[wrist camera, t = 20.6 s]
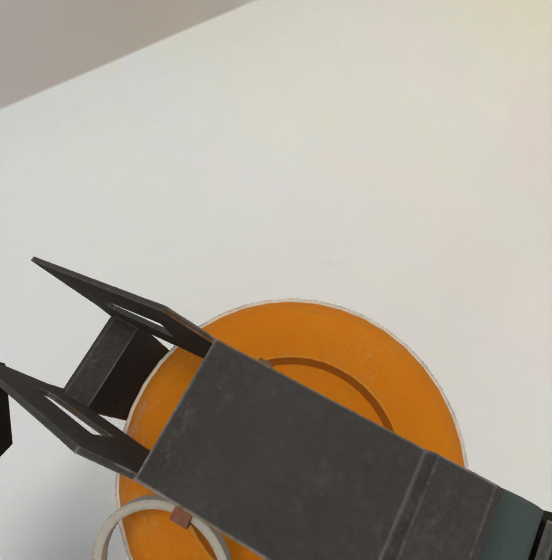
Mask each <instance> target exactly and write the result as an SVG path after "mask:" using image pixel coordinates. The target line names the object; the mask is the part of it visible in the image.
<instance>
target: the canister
mask: <svg viewBox="0 0 552 560" xmlns="http://www.w3.org/2000/svg"><path fill="white" fill-rule="evenodd" d="M31 261H33V262H34V263H36V264H37V265H38V266H40V267H41V268H43V269H44V270H46V271H47V272H49V273H50V274H52V275H53V276H55V277H56V278H58V279H59V280H60V281H62V282H63V283H65V284H66V285H68V286H69V287H71V288H72V289H74V290H75V291H77V292H78V293H80V294H81V295H83V296H84V297H85V298H87V299H88V300H90V301H91V302H93V303H94V304H96V305H97V306H99V307H100V308H101V309H103V310H104V311H105V312H106V313H108V314H109V315H110V316H111V317H110V319H109V320H108V322H107V323H106V325H105V326H104V328H103V329H102V331H101V333H100V334H99V336H98V337H97V339H96V340H95V342H94V343H93V345H92V346H91V348H90V349H89V351H88V352H87V354H86V355H85V357H84V358H83V360H82V361H81V363H80V364H79V366H78V367H77V369H76V371H75V372H74V374H73V375H72V377H71V378H70V380H69V381H68V383H67V384H66V386H65V387H64V389H63V388H60V387H57V386H53V385H50V384H47V383H45V382H42V381H40V380H38V379H35V378H33V377H31V376H28V375H26V374H23V373H21V372H19V371H16V370H14V369H11V368H9V367H7V366H4V365H2V364H0V387H1V388H2V389H3V390H4V391H5V392H6V393H8V394H9V395H10V396H11V397H12V398H13V399H14V400H16V401H17V402H18V403H19V404H20V405H21V406H22V407H23V408H25V409H26V410H27V411H28V412H29V413H30V414H31V415H33V416H34V417H35V418H36V419H37V420H38V421H39V422H41V423H42V424H43V425H44V426H45V427H46V428H47V429H49V430H50V431H51V432H52V433H53V434H54V435H55V436H56V437H58V438H59V439H60V440H61V441H62V442H63V443H64V444H65V445H66V446H68V447H69V448H70V449H71V450H72V451H73V452H74V453H76V454H78V455H80V456H83V457H85V458H87V459H89V460H91V461H93V462H96V463H98V464H100V465H102V466H104V467H106V468H109V469H111V470H113V471H115V472H116V487H115V495H116V505H117V511H116V512H114V513H113V514H112V515H111V516H110V517H109V518H108V519H107V520H106V522H105V523H104V524H103V526H102V528H101V529H100V531H99V533H98V535H97V538H96V541H95V545H94V550H93V560H107V550H108V544H109V540H110V537H111V534H112V532H113V530H114V529H115V527H116V525H117V524H118V523H119V527H120V531H121V535H122V539H123V543H124V546H125V550H126V554H127V556H128V558H129V560H548V559H549V556H550V553H551V550H552V522H551V521H549V520H542V519H541V518H542V515H543V512H544V511H543V510H542V509H541V508H539V507H538V506H536V505H535V504H533V503H531V502H529V501H528V500H526V499H524V498H522V497H520V496H518V495H516V494H514V493H512V492H510V491H507V490H505V489H503V488H501V487H499V486H498V485H497V484H495V483H493V482H491V481H489V480H487V479H485V478H483V477H481V476H480V475H478V474H476V473H474V472H472V471H470V470H469V469H468V463H467V457H466V452H465V446H464V441H463V438H462V435H461V432H460V429H459V426H458V423H457V420H456V417H455V414H454V411H453V409H452V407H451V405H450V403H449V401H448V399H447V397H446V395H445V393H444V391H443V389H442V387H441V386H440V385H439V383H438V382H437V380H436V379H435V377H434V376H433V375H432V373H431V372H430V370H429V369H428V367H427V366H426V365H425V364H424V362H423V361H422V360H421V359H420V358H419V357H418V356H417V355H416V354H415V353H414V352H413V351H412V350H411V349H410V347H409V346H408V345H407V344H405V343H404V342H403V341H402V340H400V339H399V338H398V337H397V336H395V335H394V334H393V333H392V332H390V331H389V330H388V329H386V328H385V327H383V326H381V325H380V324H378V323H376V322H374V321H373V320H371V319H369V318H368V317H366V316H364V315H361V314H359V313H356V312H354V311H352V310H349V309H347V308H344V307H342V306H338V305H334V304H329V303H325V302H321V301H317V300H305V299H293V298H291V299H276V300H265V301H261V302H256V303H252V304H247V305H243V306H240V307H238V308H235V309H232V310H230V311H227V312H224V313H222V314H219V315H218V316H216V317H214V318H212V319H211V320H209V321H207V322H205V323H203V324H202V325H200V326H196V325H195V324H193V323H192V322H190V321H188V320H187V319H185V318H184V317H182V316H181V315H179V314H178V313H176V312H174V311H173V310H171V309H170V308H168V307H167V306H164V305H162V304H159V303H156V302H153V301H151V300H148V299H145V298H143V297H140V296H137V295H135V294H132V293H129V292H127V291H124V290H121V289H119V288H116V287H113V286H111V285H108V284H105V283H103V282H100V281H97V280H95V279H92V278H89V277H87V276H84V275H82V274H79V273H76V272H74V271H71V270H68V269H66V268H63V267H60V266H58V265H55V264H52V263H50V262H47V261H44V260H42V259H39V258H36V257H33V258H32V260H31ZM113 304H114V305H113ZM115 305H117V306H119V307H117V306H115ZM120 307H122V308H124V309H126V310H129V311H131V312H134V313H136V314H139V315H141V316H143V317H146V318H148V319H151V320H153V321H156V322H158V323H160V324H162V325H163V326H164V327H165V328H164V327H161V326H159V325H157V324H155V323H153V322H150V321H148V320H146V319H144V318H142V317H139V316H137V315H135V314H133V313H131V312H128V311H126V310H124V309H122V308H120ZM151 334H152V335H151ZM153 335H154V336H156V337H158V338H161V339H163V340H165V341H167V342H169V343H171V344H173V345H175V346H174V347H173V348H172V349H171V350H170V351H169V350H168V349H167V348H166V347H165V346H164V345H163V344H161V343H160V342H159V341H158V340H157V339H156V338H155V337H154V336H153ZM44 395H45V396H47V397H49V398H51V399H52V400H54V401H55V402H57V403H58V404H59V405H61V406H62V407H64V408H65V409H66V410H68V411H69V412H71V413H72V414H73V415H75V416H76V417H77V418H79V419H80V420H82V421H83V422H84V423H86V424H87V425H88V426H90V427H91V428H93V429H94V430H95V431H97V432H98V433H100V434H101V435H94V434H92V433H90V432H89V431H87V430H86V429H85V428H84V427H82V426H81V425H80V424H79V423H77V422H76V421H75V420H74V419H72V418H71V417H70V416H69V415H68V414H66V413H65V412H64V411H63V410H61V409H60V408H59V407H58V406H56V405H55V404H54V403H53V402H51V401H50V400H49V399H48V398H46V397H45V396H44ZM98 414H100V415H104V416H108V417H113V418H117V419H121V420H126V424H125V427H124V430H123V432H122V431H121V430H120V429H118V428H117V427H115V426H114V425H113V424H111V423H110V422H108V421H107V420H105V419H104V418H103V417H101V416H100V415H98Z"/></svg>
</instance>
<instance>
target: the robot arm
mask: <svg viewBox="0 0 552 560" xmlns="http://www.w3.org/2000/svg"><path fill="white" fill-rule="evenodd" d="M0 364H2V365H4V366H5V363H1V362H0ZM12 444H13V443H12V432H11V422H10V411H9V400H8V393H6V392H5V391H4V390H3V389H2V388H1V387H0V456H1V455H2V454H3V453H4V452H5V451H6V450H7V449H8V448H9V447H10V446H11V445H12ZM543 511H544V510H543ZM541 519H542V520H549V521H551V522H552V512H548V511H544V512H543V515H542V518H541ZM548 560H552V550H551V553H550V556H549V559H548Z"/></svg>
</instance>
